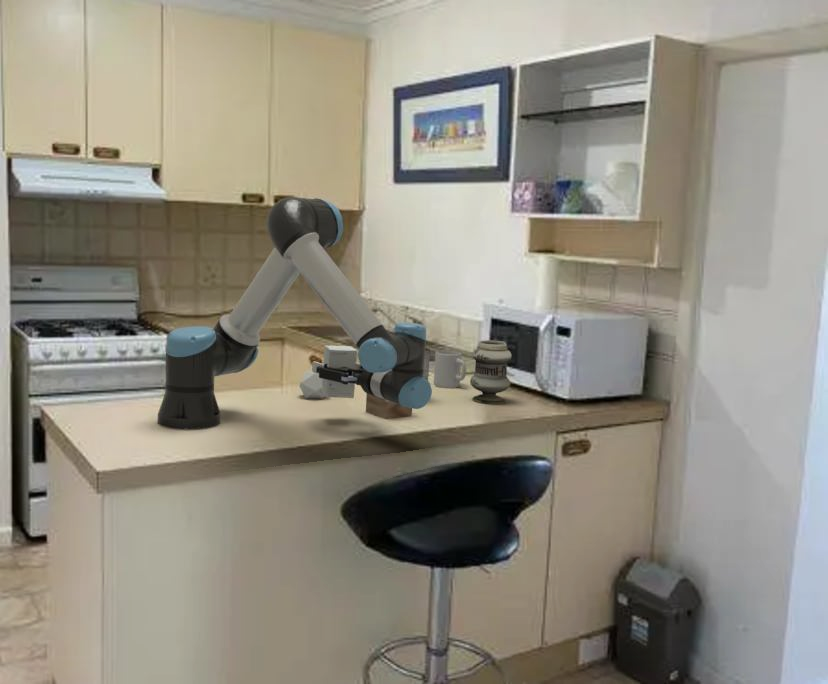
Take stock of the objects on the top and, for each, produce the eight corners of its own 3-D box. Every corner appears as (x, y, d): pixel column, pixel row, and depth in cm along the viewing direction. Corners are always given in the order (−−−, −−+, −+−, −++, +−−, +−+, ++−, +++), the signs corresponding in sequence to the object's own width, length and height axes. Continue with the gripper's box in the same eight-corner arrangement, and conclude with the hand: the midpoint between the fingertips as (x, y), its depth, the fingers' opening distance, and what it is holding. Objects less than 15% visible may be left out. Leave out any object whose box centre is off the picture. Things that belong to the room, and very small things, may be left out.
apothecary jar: (465, 402, 262) (469, 342, 260) (472, 395, 274) (476, 337, 272) (506, 406, 260) (510, 346, 257) (511, 399, 271) (515, 341, 269)
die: (319, 404, 252) (336, 376, 255) (293, 388, 251) (311, 360, 254) (316, 408, 260) (333, 381, 263) (291, 392, 259) (309, 365, 262)
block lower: (385, 419, 235) (386, 397, 234) (365, 412, 242) (366, 391, 241) (411, 416, 241) (413, 394, 240) (391, 409, 248) (392, 388, 247)
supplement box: (326, 398, 224) (328, 349, 222) (321, 392, 231) (323, 344, 229) (354, 398, 226) (357, 350, 224) (348, 392, 233) (351, 345, 231)
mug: (428, 384, 287) (430, 351, 286) (445, 382, 293) (447, 349, 292) (455, 391, 279) (457, 356, 277) (473, 388, 285) (475, 355, 284)
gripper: (343, 400, 208) (292, 382, 225) (415, 393, 222) (362, 376, 239) (345, 369, 207) (294, 353, 224) (417, 364, 221) (364, 349, 238)
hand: (329, 365), depth 231 cm, fingers closed on supplement box, 9 cm apart
